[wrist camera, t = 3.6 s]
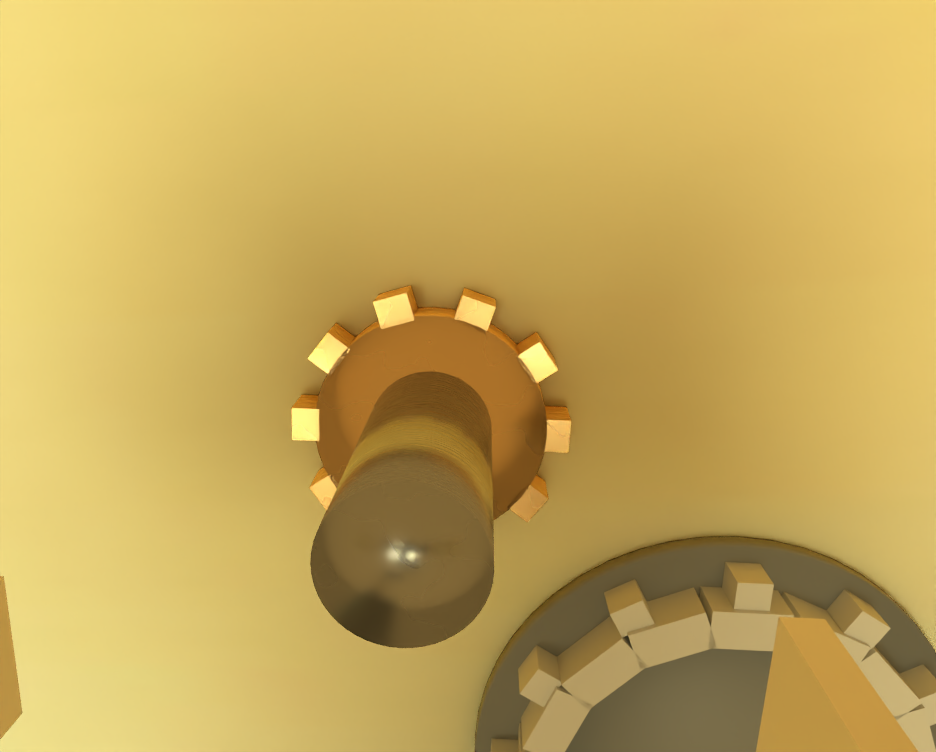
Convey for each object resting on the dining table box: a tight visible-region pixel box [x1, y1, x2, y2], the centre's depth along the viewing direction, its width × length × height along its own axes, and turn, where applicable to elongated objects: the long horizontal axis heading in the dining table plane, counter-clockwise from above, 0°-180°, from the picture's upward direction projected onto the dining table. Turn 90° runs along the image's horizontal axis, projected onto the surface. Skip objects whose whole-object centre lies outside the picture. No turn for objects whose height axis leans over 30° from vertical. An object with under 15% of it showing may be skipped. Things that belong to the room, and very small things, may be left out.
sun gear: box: [292, 285, 571, 648], centre depth 22 cm, size 9×9×10 cm
